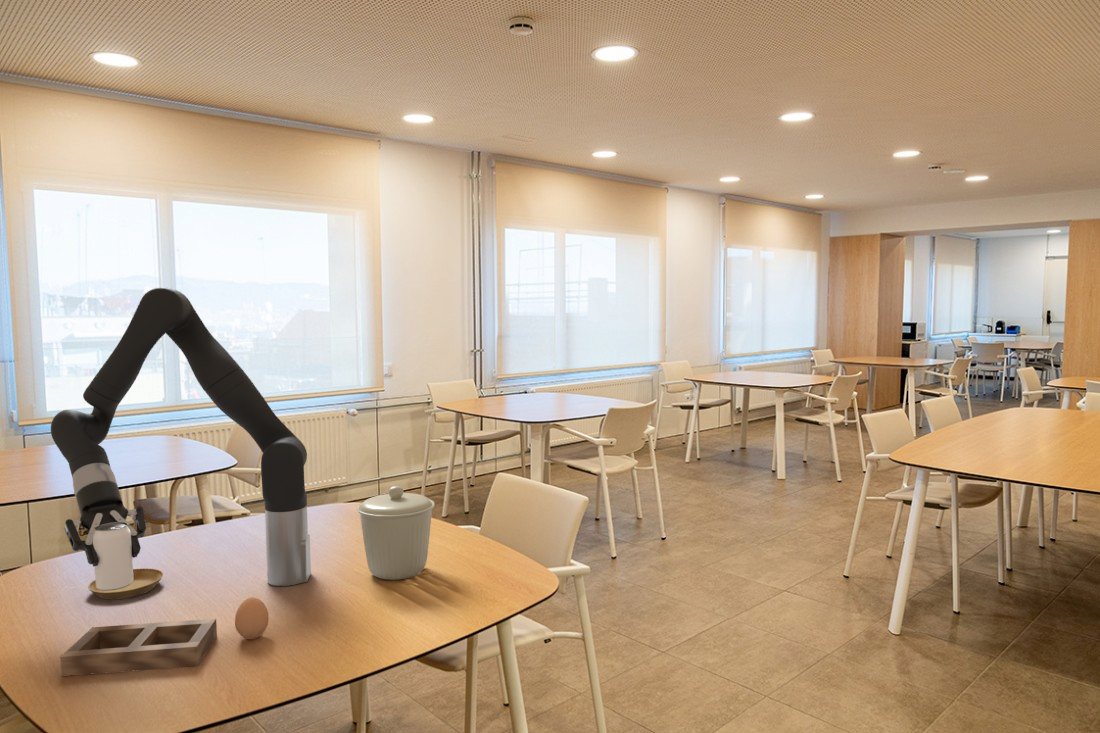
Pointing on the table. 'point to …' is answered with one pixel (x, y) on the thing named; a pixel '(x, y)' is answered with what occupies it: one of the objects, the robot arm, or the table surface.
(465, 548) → the table surface
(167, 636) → the rack
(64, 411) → the robot arm
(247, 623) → the egg
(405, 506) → the canister
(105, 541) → the can
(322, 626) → the table surface
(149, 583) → the plant saucer
